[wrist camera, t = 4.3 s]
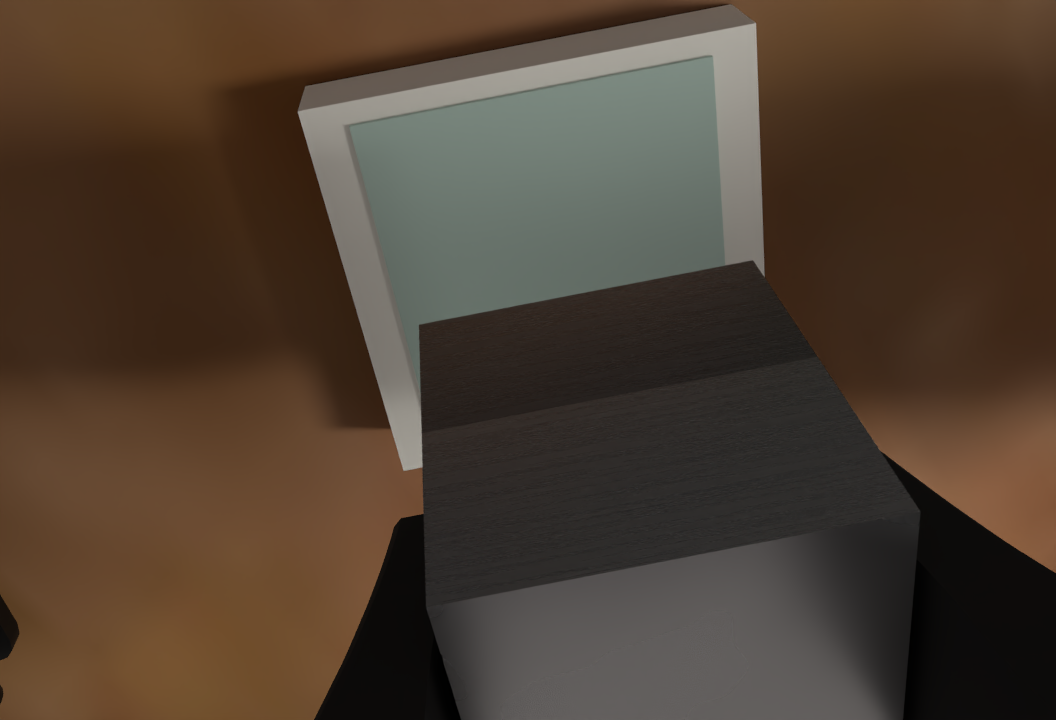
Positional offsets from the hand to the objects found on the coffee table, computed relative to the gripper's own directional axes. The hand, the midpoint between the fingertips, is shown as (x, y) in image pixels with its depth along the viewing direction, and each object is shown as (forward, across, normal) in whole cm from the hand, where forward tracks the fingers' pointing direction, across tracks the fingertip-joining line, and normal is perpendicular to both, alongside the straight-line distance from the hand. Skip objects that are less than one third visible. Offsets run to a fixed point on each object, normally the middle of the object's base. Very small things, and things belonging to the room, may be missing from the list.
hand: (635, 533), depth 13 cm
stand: (+9, 0, 0) cm, 9 cm away
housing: (+2, 0, 0) cm, 2 cm away
